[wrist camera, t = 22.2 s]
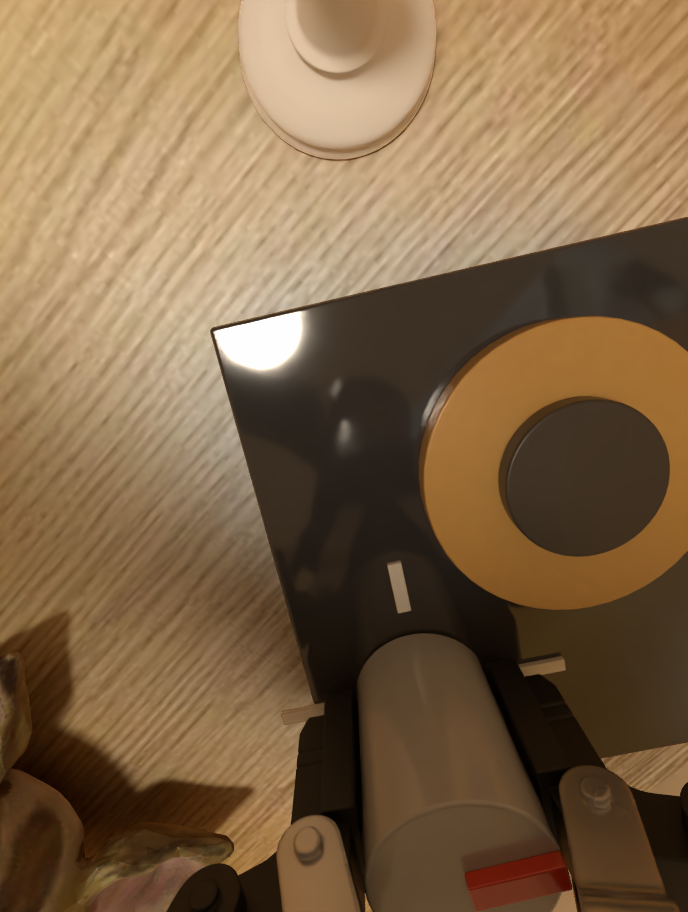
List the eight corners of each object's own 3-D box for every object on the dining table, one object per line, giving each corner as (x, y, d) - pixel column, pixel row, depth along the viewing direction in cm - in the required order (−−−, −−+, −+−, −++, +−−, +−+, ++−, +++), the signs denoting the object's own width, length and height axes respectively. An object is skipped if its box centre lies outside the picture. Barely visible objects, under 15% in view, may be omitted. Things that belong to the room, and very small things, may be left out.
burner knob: (376, 758, 14) (396, 995, 9) (339, 652, 14) (339, 848, 8) (500, 726, 14) (591, 951, 9) (470, 616, 13) (552, 796, 8)
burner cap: (393, 354, 12) (399, 357, 10) (698, 285, 11) (746, 279, 10) (444, 618, 13) (456, 650, 12) (711, 564, 13) (755, 591, 12)
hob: (203, 335, 15) (167, 337, 11) (620, 238, 14) (699, 212, 11) (319, 743, 18) (315, 829, 15) (657, 678, 17) (725, 753, 14)
